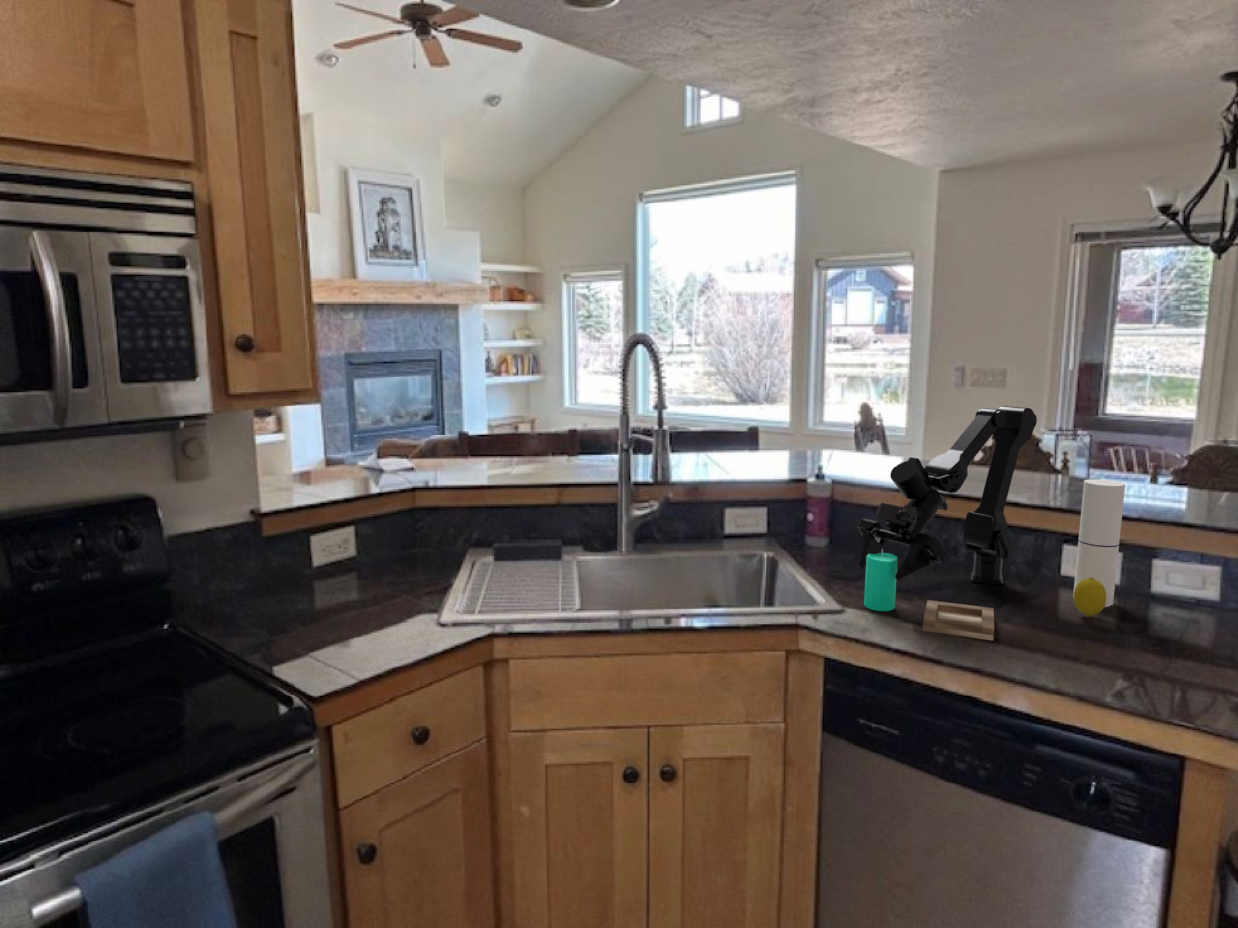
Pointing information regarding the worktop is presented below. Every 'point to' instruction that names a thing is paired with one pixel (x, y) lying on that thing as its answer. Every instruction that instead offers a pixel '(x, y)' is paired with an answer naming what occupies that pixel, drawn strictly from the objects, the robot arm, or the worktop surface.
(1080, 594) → the lemon
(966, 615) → the candle stand
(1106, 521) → the cylindrical container
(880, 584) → the candle
